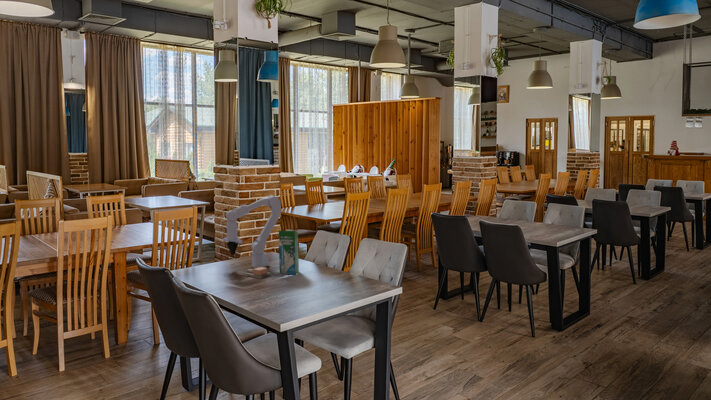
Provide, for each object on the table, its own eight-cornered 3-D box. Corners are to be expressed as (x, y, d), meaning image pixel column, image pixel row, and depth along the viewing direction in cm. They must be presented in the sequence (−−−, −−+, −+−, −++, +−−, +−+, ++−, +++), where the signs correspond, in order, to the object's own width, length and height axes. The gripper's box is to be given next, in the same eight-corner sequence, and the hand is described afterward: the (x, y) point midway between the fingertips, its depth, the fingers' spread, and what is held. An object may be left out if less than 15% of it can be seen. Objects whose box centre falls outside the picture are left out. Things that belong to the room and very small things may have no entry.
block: (261, 274, 297) (261, 266, 297) (267, 275, 294) (267, 268, 294) (253, 276, 292) (252, 269, 292) (259, 277, 289) (259, 270, 289)
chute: (250, 272, 306) (250, 268, 306) (272, 276, 295) (272, 272, 295) (235, 276, 297) (235, 272, 297) (258, 281, 287) (257, 276, 286)
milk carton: (298, 271, 308) (297, 228, 305) (295, 275, 299) (294, 230, 296) (283, 271, 309) (282, 228, 306) (279, 274, 300) (278, 230, 297)
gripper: (218, 231, 310) (219, 254, 311) (235, 233, 301) (236, 257, 302) (227, 229, 315) (228, 252, 317) (244, 231, 307) (245, 255, 308)
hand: (232, 254), depth 310 cm, fingers closed
